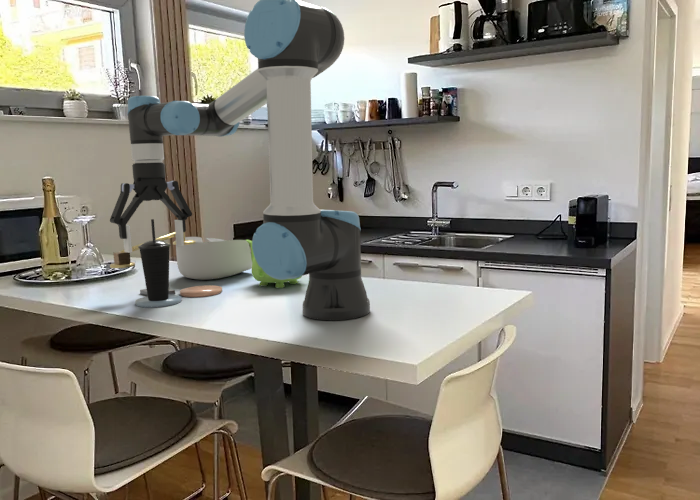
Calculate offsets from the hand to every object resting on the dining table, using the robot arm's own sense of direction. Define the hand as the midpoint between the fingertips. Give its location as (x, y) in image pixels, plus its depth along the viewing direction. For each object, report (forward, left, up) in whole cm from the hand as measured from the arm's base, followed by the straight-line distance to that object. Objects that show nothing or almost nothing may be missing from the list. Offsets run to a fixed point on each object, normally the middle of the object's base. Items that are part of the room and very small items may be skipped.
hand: (154, 248), depth 154 cm
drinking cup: (0, 0, -13) cm, 13 cm away
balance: (+10, -4, -14) cm, 17 cm away
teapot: (-4, -33, -14) cm, 36 cm away
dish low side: (0, 0, -14) cm, 14 cm away
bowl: (+21, -27, -14) cm, 37 cm away
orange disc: (+2, -13, -14) cm, 19 cm away
